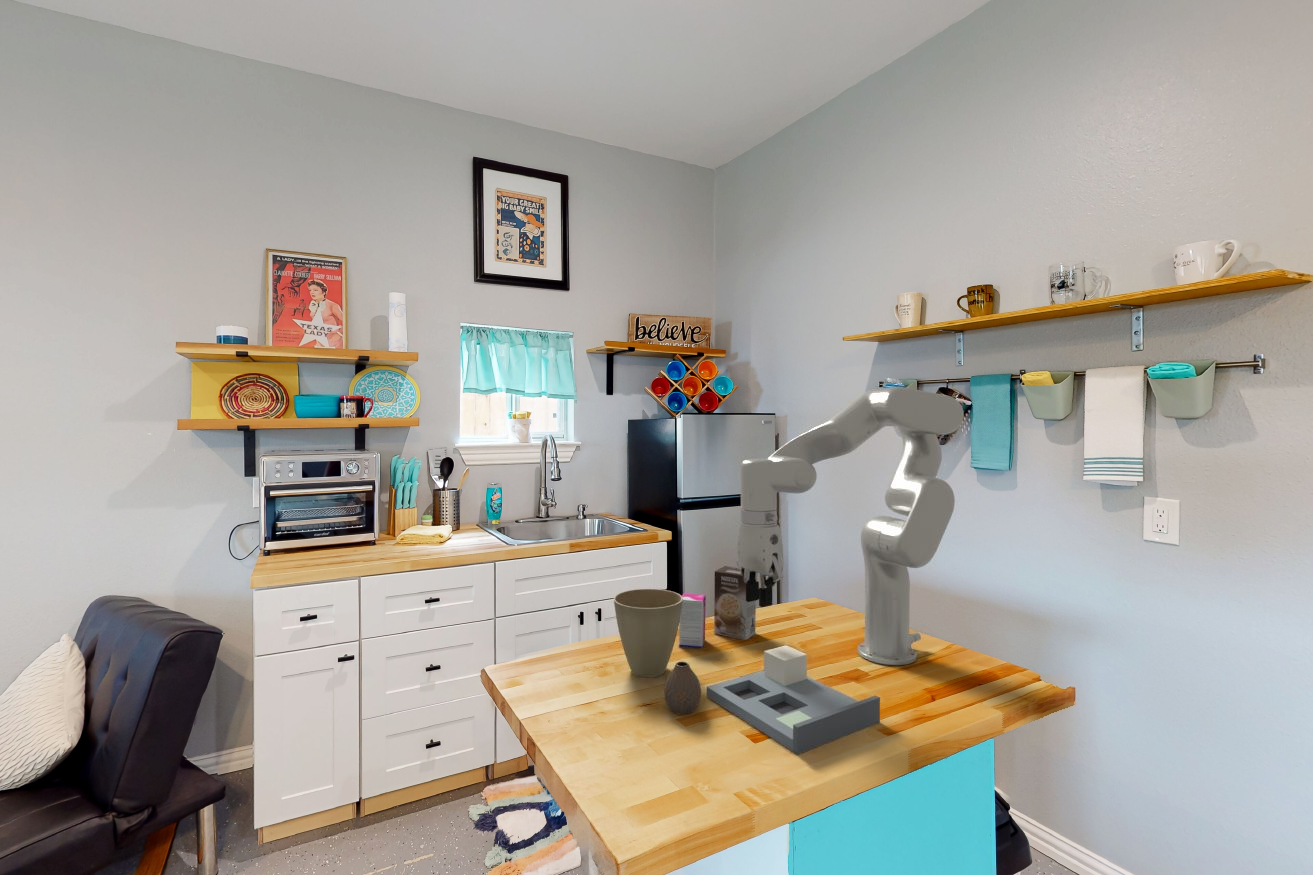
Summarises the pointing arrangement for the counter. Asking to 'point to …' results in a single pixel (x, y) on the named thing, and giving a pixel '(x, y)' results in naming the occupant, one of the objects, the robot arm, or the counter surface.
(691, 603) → the supplement box
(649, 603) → the plant pot
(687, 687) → the vase
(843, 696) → the board
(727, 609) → the coffee box
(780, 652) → the cream block
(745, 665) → the counter surface
